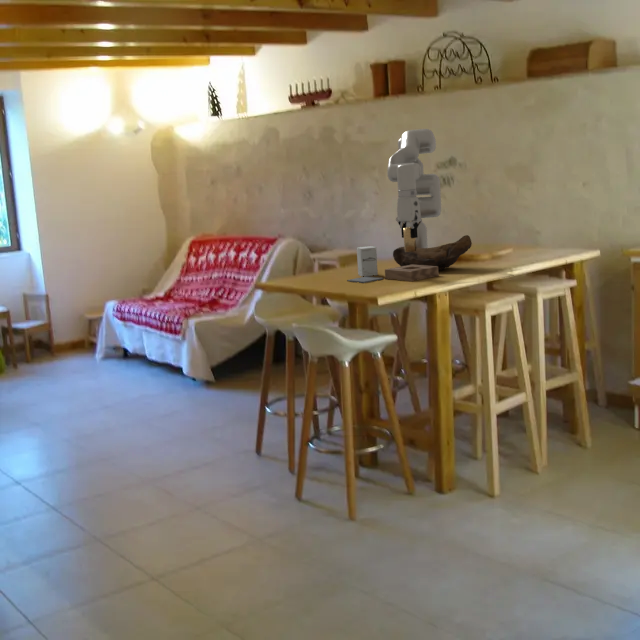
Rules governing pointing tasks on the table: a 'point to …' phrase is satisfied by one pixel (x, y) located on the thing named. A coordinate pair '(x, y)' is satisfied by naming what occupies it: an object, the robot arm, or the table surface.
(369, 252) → the supplement box
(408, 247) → the tan mottled cylinder
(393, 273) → the bore block
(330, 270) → the table surface
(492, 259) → the table surface
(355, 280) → the slate mat
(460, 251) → the driftwood
